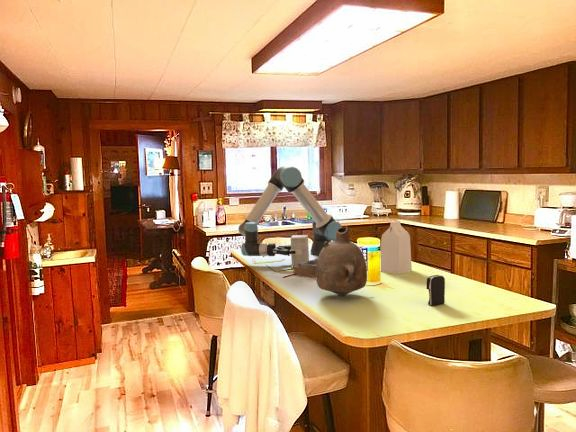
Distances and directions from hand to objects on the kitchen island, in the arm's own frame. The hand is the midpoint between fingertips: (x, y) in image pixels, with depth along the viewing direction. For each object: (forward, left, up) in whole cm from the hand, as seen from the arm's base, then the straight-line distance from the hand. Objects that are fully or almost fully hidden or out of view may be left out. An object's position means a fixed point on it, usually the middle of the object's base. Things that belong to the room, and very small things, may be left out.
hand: (304, 249), depth 269 cm
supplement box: (+1, -2, -9) cm, 10 cm away
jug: (+38, +56, -9) cm, 68 cm away
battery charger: (+25, +92, -9) cm, 96 cm away
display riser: (+9, +20, -9) cm, 24 cm away
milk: (-18, +48, -9) cm, 52 cm away
